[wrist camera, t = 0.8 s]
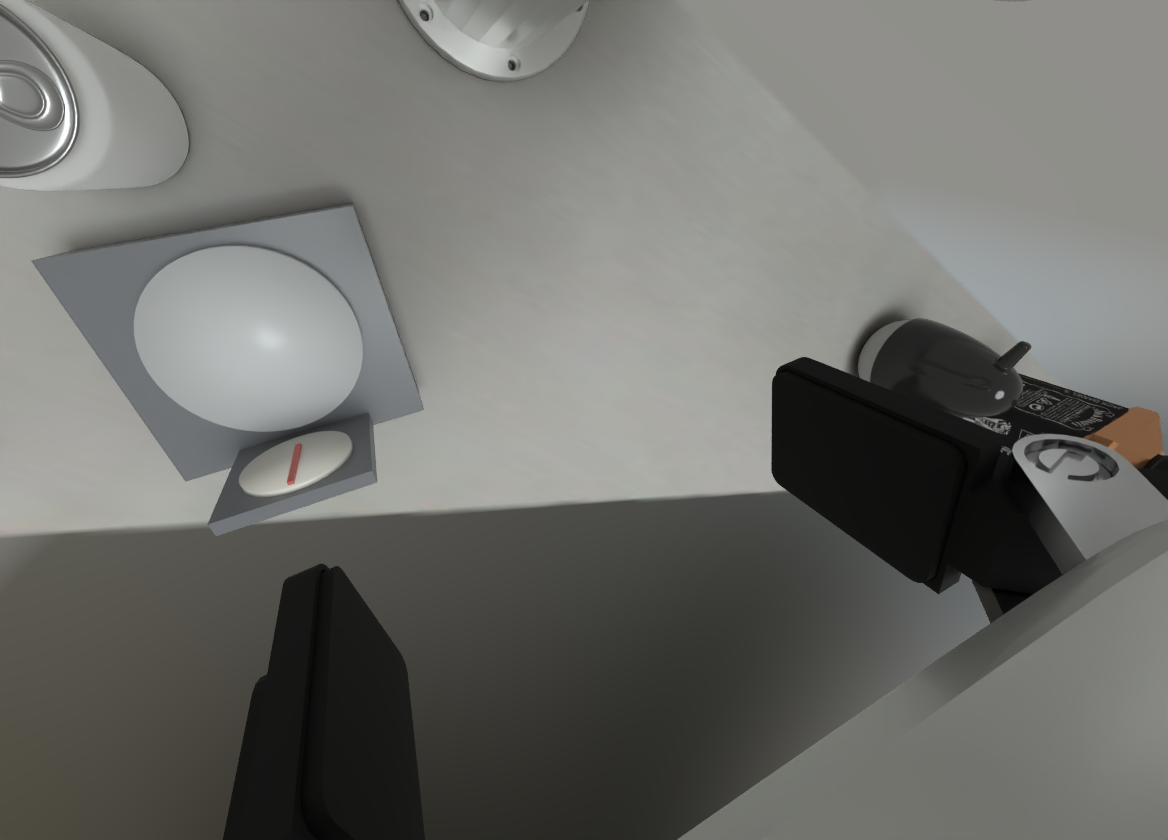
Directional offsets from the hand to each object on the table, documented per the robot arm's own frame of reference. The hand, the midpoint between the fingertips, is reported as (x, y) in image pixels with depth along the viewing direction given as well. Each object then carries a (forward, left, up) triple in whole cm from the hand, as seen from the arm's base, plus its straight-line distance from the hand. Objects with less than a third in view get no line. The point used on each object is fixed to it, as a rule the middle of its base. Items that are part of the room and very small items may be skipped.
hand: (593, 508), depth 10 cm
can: (-11, -13, -30) cm, 34 cm away
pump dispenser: (+20, +49, -30) cm, 61 cm away
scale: (+2, -10, -30) cm, 32 cm away
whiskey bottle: (+31, +64, -30) cm, 77 cm away
